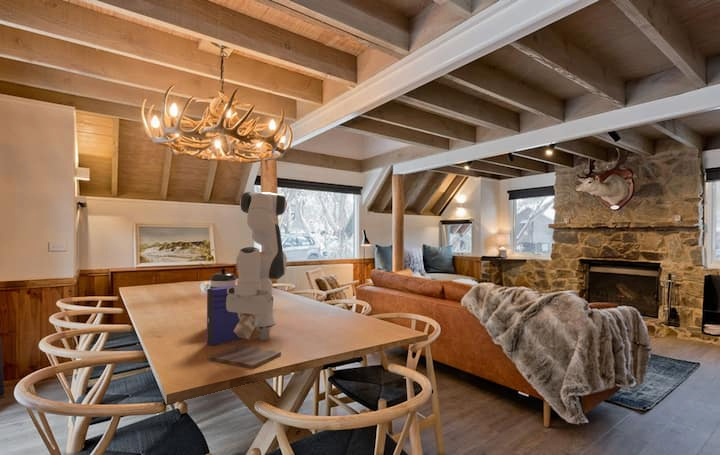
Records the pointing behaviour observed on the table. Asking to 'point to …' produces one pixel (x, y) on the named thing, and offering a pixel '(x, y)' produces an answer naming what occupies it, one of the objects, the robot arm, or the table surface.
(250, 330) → the birch block
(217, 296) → the cereal box
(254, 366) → the walnut board
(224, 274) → the coffee press
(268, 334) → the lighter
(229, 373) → the table surface
